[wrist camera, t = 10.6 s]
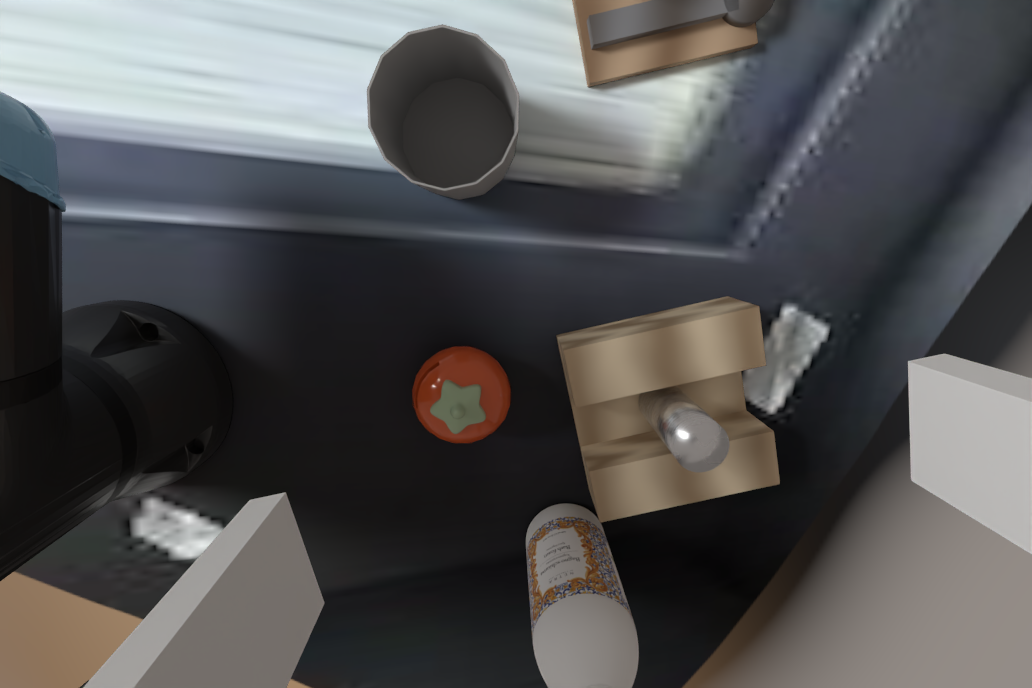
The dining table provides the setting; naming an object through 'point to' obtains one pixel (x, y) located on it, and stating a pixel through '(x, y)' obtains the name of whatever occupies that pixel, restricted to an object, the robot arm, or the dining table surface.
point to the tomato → (461, 394)
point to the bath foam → (578, 603)
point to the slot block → (655, 365)
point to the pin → (685, 428)
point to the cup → (445, 111)
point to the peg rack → (661, 33)
